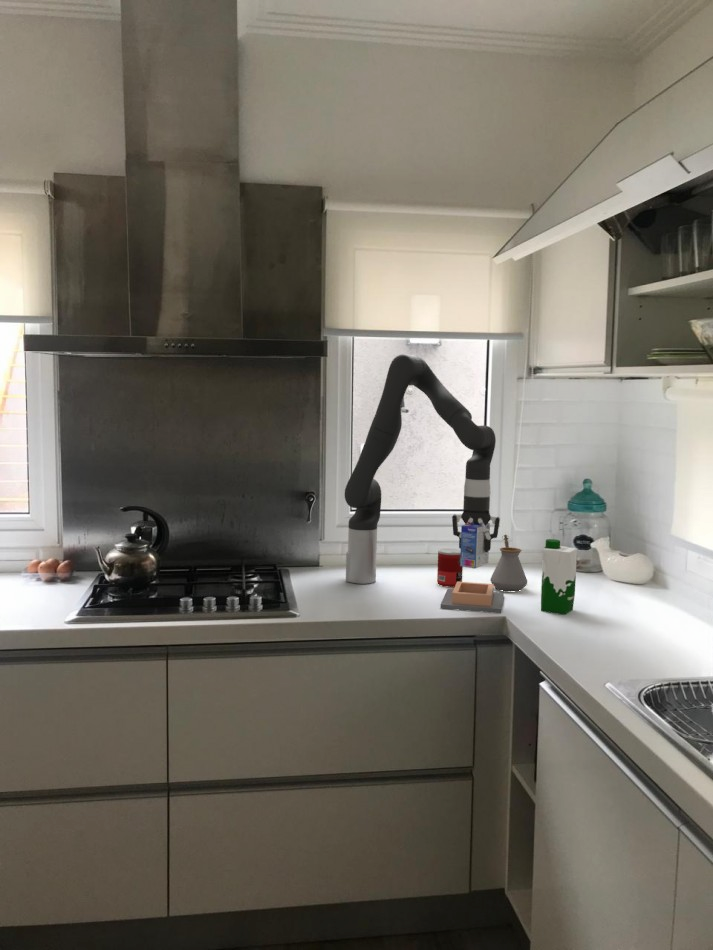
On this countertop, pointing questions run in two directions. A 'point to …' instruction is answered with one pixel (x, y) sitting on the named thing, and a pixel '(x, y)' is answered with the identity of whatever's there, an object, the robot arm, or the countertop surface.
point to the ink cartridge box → (473, 546)
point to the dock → (473, 597)
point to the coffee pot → (509, 570)
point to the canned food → (449, 567)
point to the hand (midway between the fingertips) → (474, 551)
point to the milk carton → (558, 577)
